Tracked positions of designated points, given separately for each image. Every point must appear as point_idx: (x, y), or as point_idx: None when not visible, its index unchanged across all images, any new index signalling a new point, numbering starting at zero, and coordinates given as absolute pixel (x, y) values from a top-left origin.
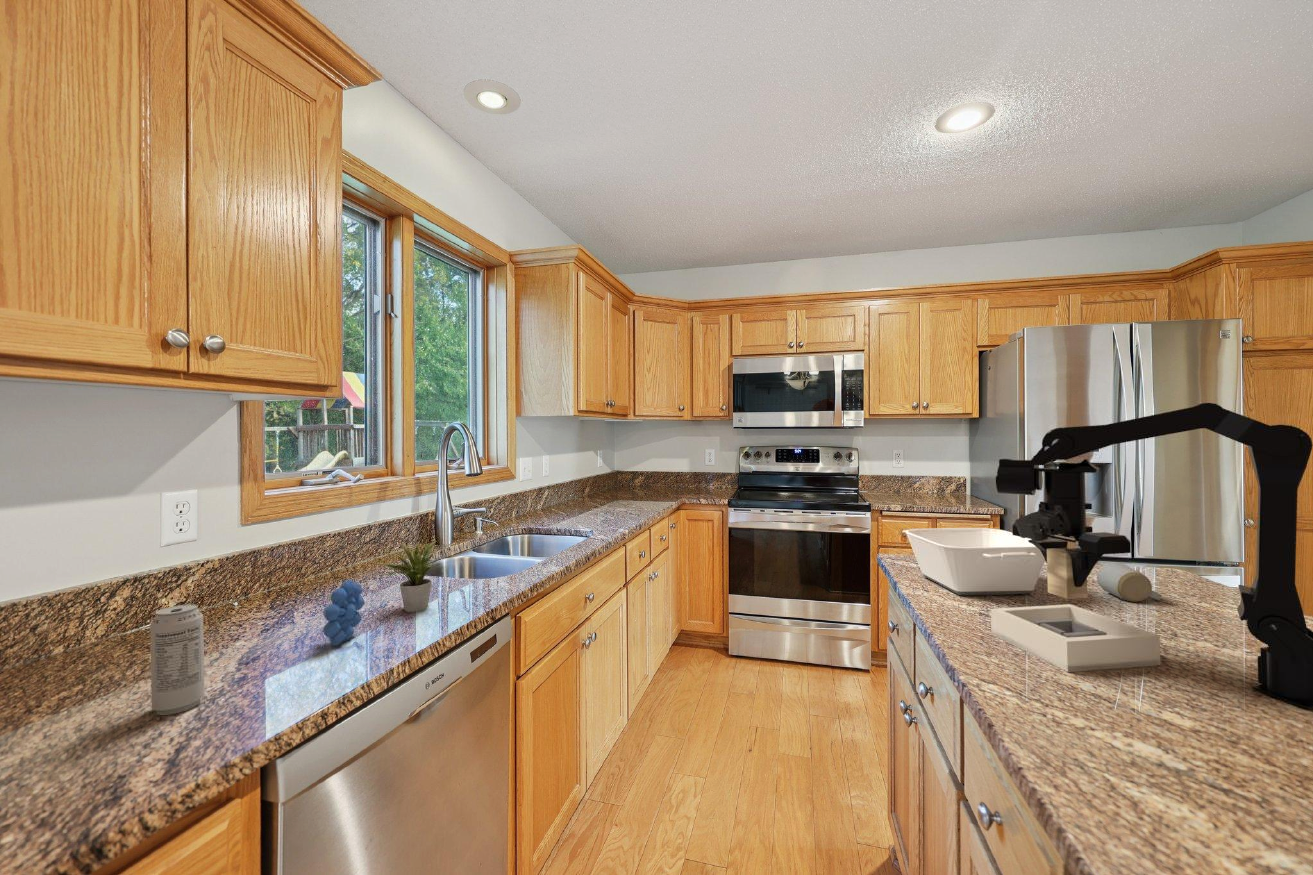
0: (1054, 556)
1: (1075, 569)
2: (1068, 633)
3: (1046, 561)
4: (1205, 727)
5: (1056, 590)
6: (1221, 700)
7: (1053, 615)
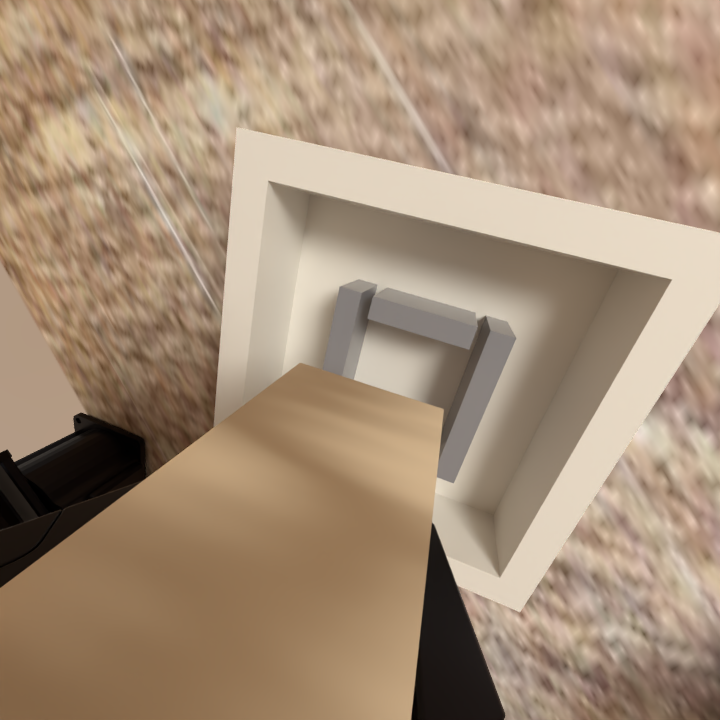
0: None
1: (84, 518)
2: (352, 309)
3: (491, 714)
4: (38, 160)
5: (364, 399)
6: (120, 336)
7: (525, 498)
